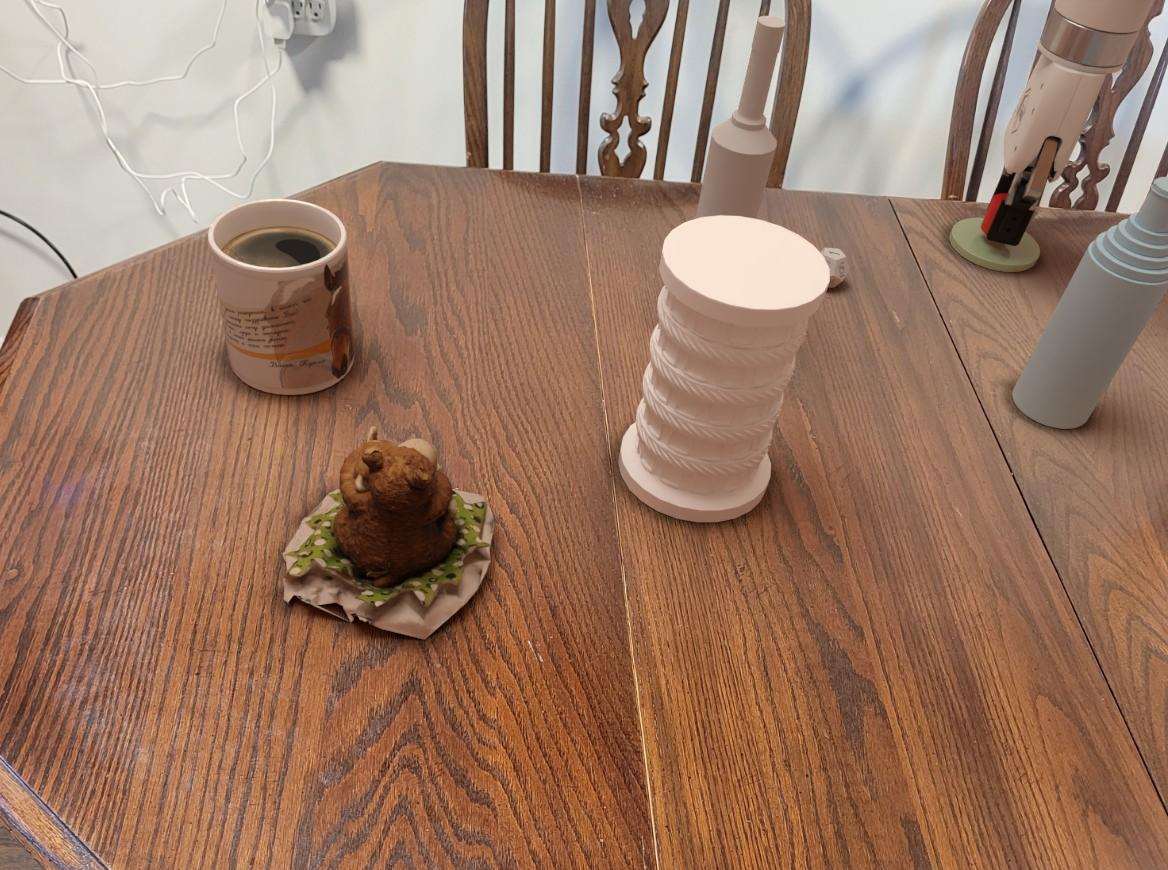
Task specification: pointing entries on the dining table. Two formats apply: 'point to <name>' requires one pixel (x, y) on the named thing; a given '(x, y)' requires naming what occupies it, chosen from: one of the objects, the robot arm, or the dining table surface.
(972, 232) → the coaster
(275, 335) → the mug
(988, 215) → the cap
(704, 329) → the decorative container
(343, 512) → the bear figurine
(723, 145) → the bottle
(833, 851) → the dining table surface
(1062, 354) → the bottle
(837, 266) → the game die
